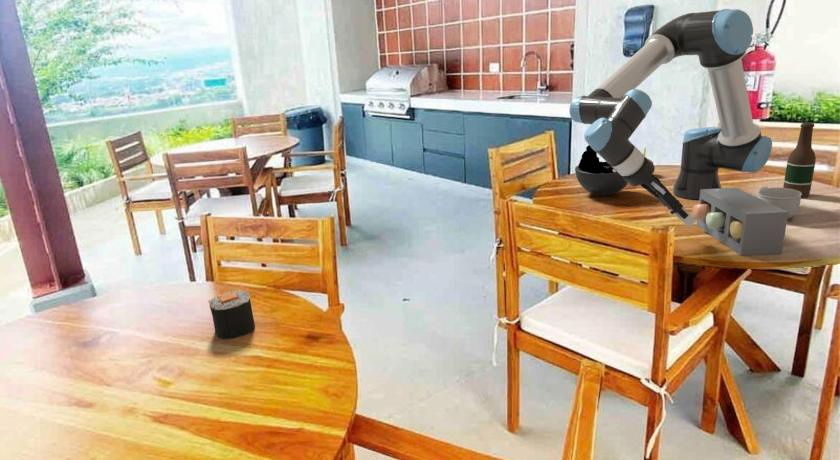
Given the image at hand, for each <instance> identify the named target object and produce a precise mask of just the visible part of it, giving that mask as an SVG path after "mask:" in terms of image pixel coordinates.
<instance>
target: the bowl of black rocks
mask: <svg viewBox="0 0 840 460" xmlns="http://www.w3.org/2000/svg"><path fill="white" fill-rule="evenodd" d="M613 169H614V168H613V167H612V166H611V165H610V164H608V163H607V162H606V161H600V158H599V157H598V153H597V152H595V151H594V150H593V149H592V148H591V146H590V145H589V144H588V145H587V146H586V148H585V150H584V151H583V152H582V155H581V158H580V160H579V162H578V165H576V166H575V167H574V172H575V176H576V179H577V182H578V183H579V185H580V186H581V187H582V189H585V191H587V192H588V193H590V194H593V195H596V196H604V197H605V196H611V195H614V194H617V193H619V192H620V191H622V190H623V189H624V188H626V187H627V185H628V184H629V183H628V182H627V181H626V180H625V179H624V178H623V176H621V175H620V174H619V173H618V172H617V171H616V172H613Z"/></svg>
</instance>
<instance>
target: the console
mask: <svg viewBox="0 0 840 460" xmlns="http://www.w3.org/2000/svg"><path fill="white" fill-rule="evenodd" d="M698 200H699V201H698V204H710V205H711V212H710V213H714V212H724V213H725V214H726V220H725V228H718V229H709V228H708V227H707V225H706V219H703V220H697V221H696V227H698V228H699V229H701V230H702V231H704V232H706V233H707V234H709V235H710V236H711V237H713V238H714V239H716V240H717V241H719V242H720V243H722V244H723V245H724V246H726V247H727V248H728V249H730V250H732V251H733V252H735V253H736V254H737V255H740V256H741V257H742V256H761V255H777V254H778V255H782V254H783V247H784V242H785V235H786V229H787V224H788V219H787V218H788V211H785V210H783V209H781V208H779V207H777V206H775V205H773V204H770V203H768V202H766V201H764V200H762V199H760V198H758V196H755V195H753V194H752V193H748V192H746V191H744V190H743V189H740V188H738V187H723V188H722V187H721V188H718V189H700V198H699V199H698ZM733 221H741V222H743V226H742V234H741V238H733V237H732V236H731V233H730V225H731V223H732V222H733Z"/></svg>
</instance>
